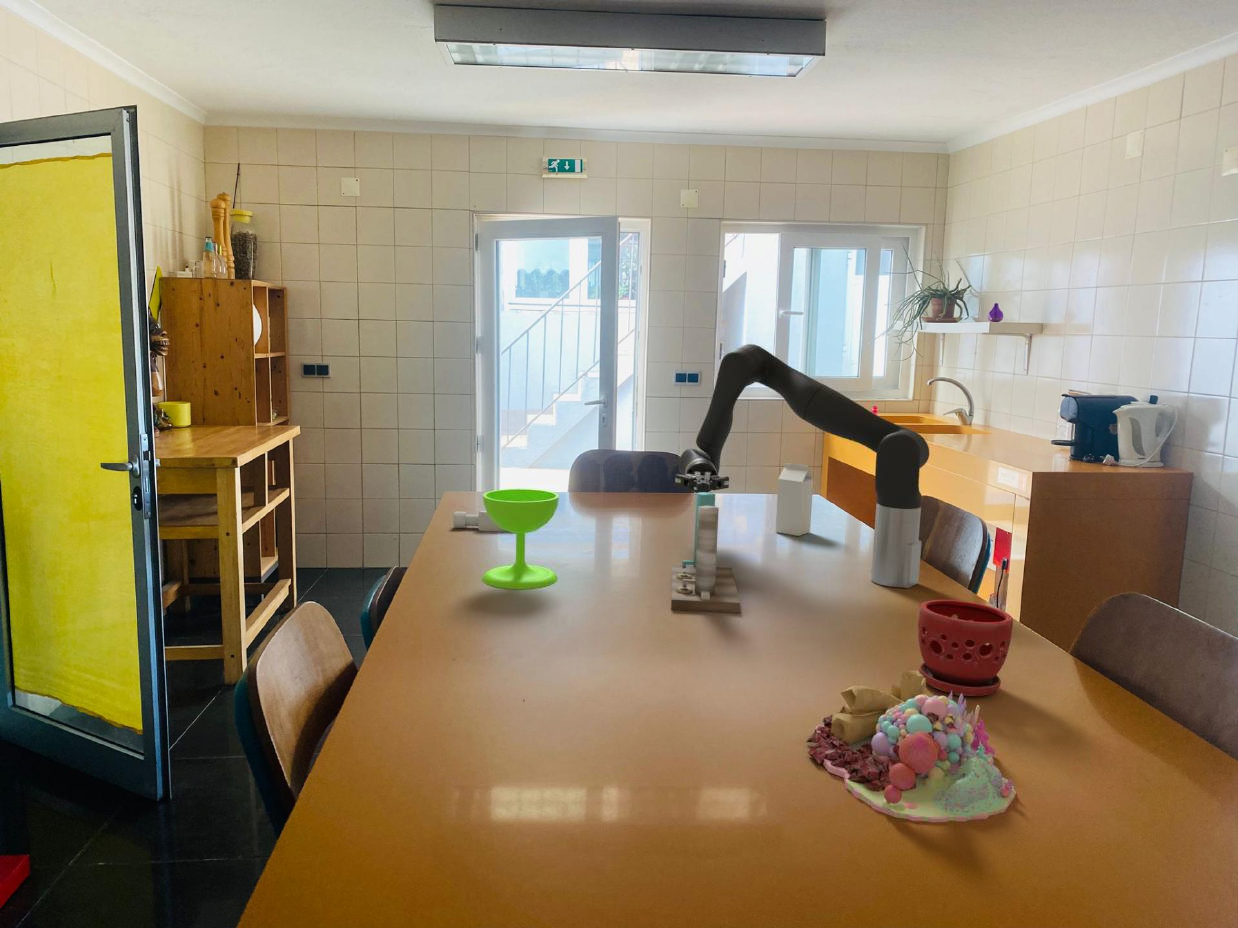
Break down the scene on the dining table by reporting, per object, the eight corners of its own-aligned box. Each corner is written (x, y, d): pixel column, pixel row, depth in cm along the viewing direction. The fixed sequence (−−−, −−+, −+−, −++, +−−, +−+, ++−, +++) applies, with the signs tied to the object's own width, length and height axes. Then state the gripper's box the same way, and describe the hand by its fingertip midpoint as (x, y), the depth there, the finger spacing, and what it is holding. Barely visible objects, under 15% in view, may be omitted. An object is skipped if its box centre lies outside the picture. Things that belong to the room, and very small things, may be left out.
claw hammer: (470, 495, 257) (452, 511, 227) (544, 497, 258) (536, 513, 228) (470, 513, 258) (452, 531, 228) (544, 515, 258) (536, 534, 228)
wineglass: (563, 570, 190) (564, 490, 188) (550, 591, 175) (552, 503, 172) (492, 566, 192) (493, 487, 189) (473, 586, 176) (473, 500, 174)
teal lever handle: (682, 565, 187) (685, 491, 184) (711, 566, 186) (715, 492, 184) (682, 570, 183) (685, 494, 181) (712, 571, 182) (715, 495, 180)
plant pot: (1015, 706, 124) (1023, 626, 122) (920, 697, 126) (926, 618, 125) (995, 673, 136) (1002, 600, 135) (908, 665, 139) (914, 593, 137)
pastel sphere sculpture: (774, 739, 112) (777, 672, 111) (912, 712, 122) (917, 649, 120) (912, 842, 90) (919, 758, 88) (1069, 798, 99) (1077, 722, 98)
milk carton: (798, 536, 232) (803, 467, 229) (775, 532, 236) (778, 464, 233) (810, 532, 237) (814, 464, 235) (786, 528, 242) (790, 461, 239)
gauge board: (672, 573, 190) (675, 489, 188) (731, 576, 189) (735, 491, 187) (671, 609, 165) (674, 512, 162) (739, 612, 164) (744, 515, 161)
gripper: (727, 492, 206) (732, 506, 189) (672, 489, 207) (672, 502, 190) (729, 461, 205) (734, 472, 188) (674, 458, 206) (674, 469, 189)
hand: (703, 487), depth 189 cm, fingers closed
